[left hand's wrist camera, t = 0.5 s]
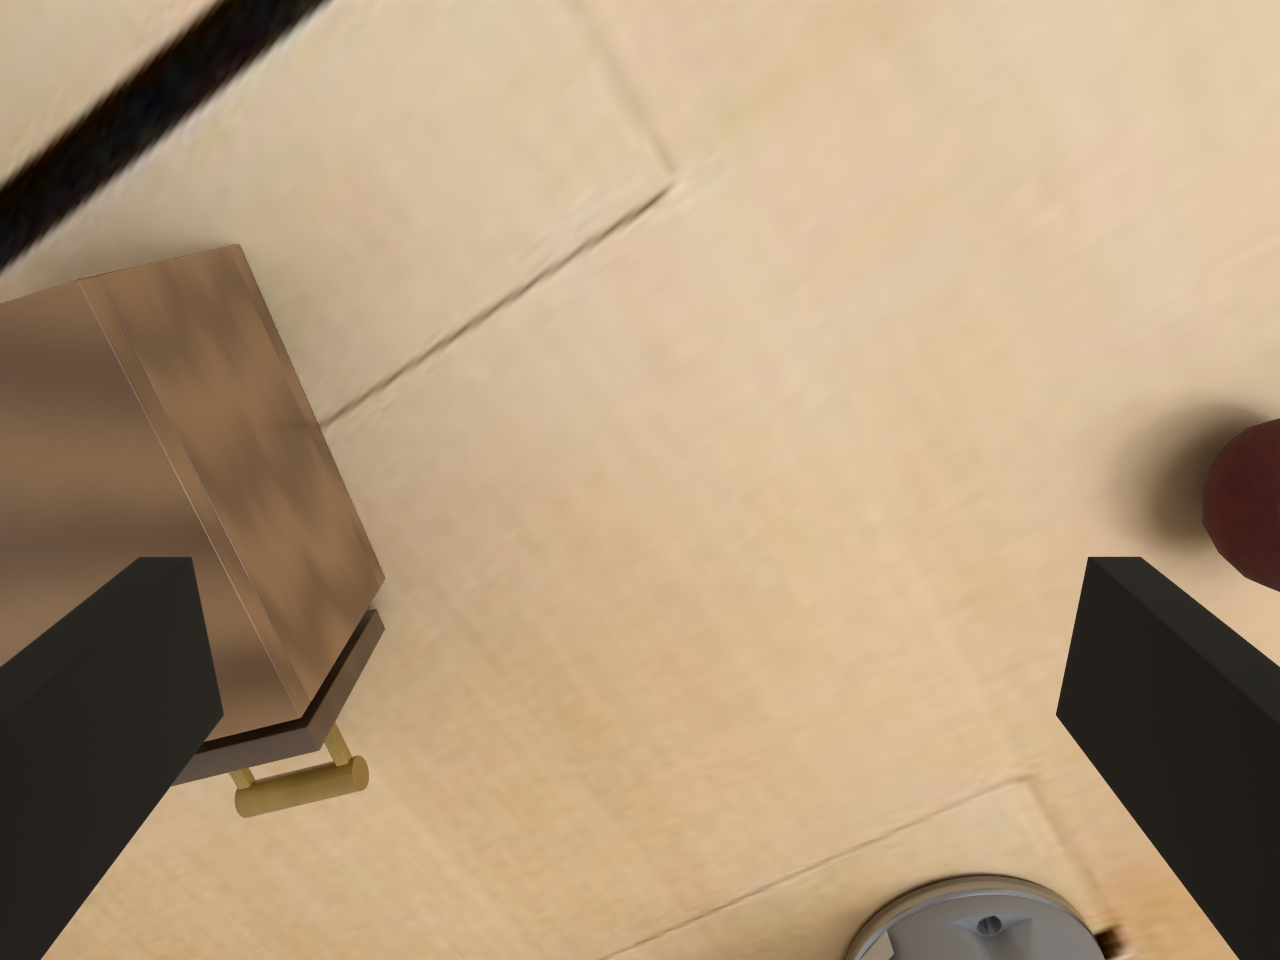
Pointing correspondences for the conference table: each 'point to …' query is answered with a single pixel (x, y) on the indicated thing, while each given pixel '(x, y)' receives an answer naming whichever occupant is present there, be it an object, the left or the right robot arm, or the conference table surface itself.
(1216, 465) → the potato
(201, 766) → the drawer
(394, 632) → the conference table surface
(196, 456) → the cabinet
